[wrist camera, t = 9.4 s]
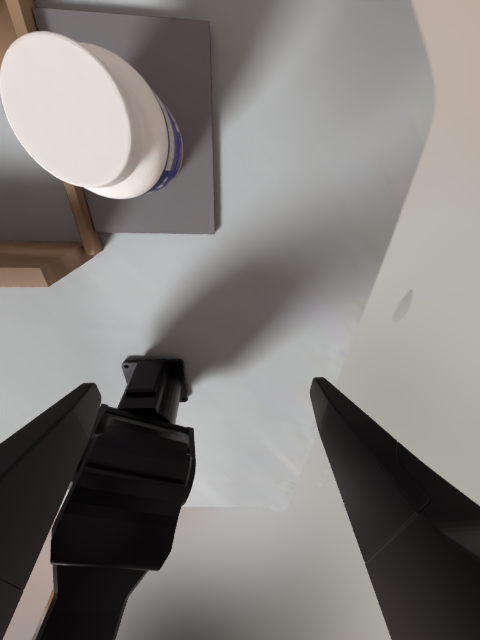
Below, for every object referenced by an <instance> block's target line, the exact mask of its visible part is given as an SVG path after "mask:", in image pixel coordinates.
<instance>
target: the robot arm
mask: <svg viewBox="0 0 480 640" xmlns="http://www.w3.org/2000/svg"><path fill="white" fill-rule="evenodd" d="M179 364H180V365H179ZM127 365H128V366H127ZM122 369H123V372H124V376H125V379H126V382H127V386H126V389H125V392H124V394H123V396H122V398H121V401H120V403H119V405H118V407H117V409H116V408H113V407H109V406H108V405H106V404H101V406H100V403H101V395H100V392H99V390H98V388H97V385H96V384H95V383H83V384H81V385H80V386H79V387H77V388H76V389H74V390H73V391H72V392H70V393H69V394H68V395H66V396H65V397H64V398H62V399H61V400H59V401H58V402H57V403H55V404H54V405H53V406H51V407H50V408H48V409H47V410H46V411H44V412H43V413H42V414H40V415H39V416H38V417H36V418H35V419H33V420H32V421H31V422H29V423H28V424H27V425H25V426H24V427H22V428H21V429H20V430H18V431H17V432H16V433H14V434H13V435H12V436H10V437H9V438H7V439H6V440H5V441H3V442H2V443H1V444H0V640H3V637H4V635H5V632H6V630H7V628H8V626H9V623H10V621H11V619H12V617H13V614H14V612H15V610H16V607H17V605H18V602H19V600H20V598H21V596H22V594H23V590H24V588H25V586H26V583H27V581H28V579H29V577H30V575H31V572H32V570H33V568H34V565H35V563H36V561H37V558H38V556H39V554H40V551H41V549H42V547H43V544H44V542H45V540H46V538H47V535H48V533H49V531H50V528H51V526H52V524H53V522H54V519H55V517H56V515H57V512H58V510H59V508H60V505H61V503H62V501H63V498H64V496H65V494H66V492H67V489H70V490H69V492H68V495H67V497H66V499H65V501H64V503H63V505H62V507H61V510H60V512H59V514H58V516H57V518H56V520H55V522H54V525H53V527H52V539H51V559H50V561H51V564H53V581H54V589H53V591H52V593H51V596H50V598H49V600H48V603H47V605H46V607H45V610H44V612H43V614H42V617H41V619H40V622H39V624H38V627H37V629H36V631H35V634H34V636H33V638H32V640H115V639H116V636H117V632H118V629H119V626H120V622H121V619H122V615H123V612H124V609H125V606H126V603H127V600H128V597H129V596H130V594H131V593H132V591H133V590H134V589H135V587H136V586H137V585H138V584H139V582H140V581H141V580H142V578H143V577H144V575H145V574H146V573H147V572H148V571H149V570H151V571H158V570H160V568H161V567H162V565H163V564H164V562H165V560H166V559H167V557H168V555H169V554H170V552H171V549H172V543H173V539H174V533H175V529H176V525H177V520H178V516H179V513H180V509H181V506H183V505H184V504H185V502H186V500H187V498H188V496H189V494H190V491H191V488H192V485H193V480H194V475H195V468H196V459H195V444H194V429H193V428H191V427H183V426H180V425H176V424H175V422H176V417H177V411H178V406H179V402H186V401H187V400H188V391H187V383H186V375H185V367H184V362H183V361H182V360H179V359H176V360H126V361H124V362H123V363H122ZM310 397H311V402H312V406H313V410H314V414H315V419H316V423H317V427H318V431H319V433H320V437H321V440H322V442H323V445H324V448H325V451H326V454H327V457H328V459H329V462H330V465H331V468H332V471H333V474H334V477H335V479H336V482H337V485H338V488H339V490H340V493H341V496H342V499H343V502H344V505H345V508H346V511H347V513H348V516H349V519H350V522H351V525H352V528H353V531H354V533H355V536H356V539H357V542H358V545H359V547H360V551H361V553H362V556H363V559H364V561H365V562H366V563H365V565H366V568H367V571H368V574H369V576H370V579H371V582H372V585H373V588H374V591H375V593H376V597H377V599H378V602H379V605H380V607H381V611H382V613H383V616H384V619H385V622H386V625H387V628H388V631H389V634H390V636H391V639H392V640H480V506H479V505H478V504H476V503H475V502H473V501H472V500H471V499H470V498H468V497H467V496H466V495H464V494H463V493H462V492H460V491H459V490H458V489H456V488H455V487H454V486H453V485H451V484H450V483H449V482H447V481H446V480H445V479H443V478H442V477H441V476H439V475H438V474H437V473H436V472H434V471H433V470H432V469H430V468H429V467H428V466H427V465H425V464H424V463H423V462H422V461H420V460H419V459H418V458H417V457H416V456H414V455H413V454H412V453H411V452H410V451H408V450H407V449H406V448H405V447H404V446H403V445H402V444H400V443H399V442H397V440H395V439H394V438H393V437H392V436H391V435H390V434H389V433H387V432H386V431H385V430H384V429H383V428H382V427H381V426H379V425H378V424H377V423H376V422H375V421H374V420H373V419H371V418H370V417H369V416H368V415H367V414H366V413H364V412H363V411H362V410H361V409H360V408H359V407H357V406H356V405H355V404H354V403H353V402H352V401H351V400H349V399H348V398H347V397H346V396H345V395H344V394H343V393H341V392H340V391H339V390H338V389H337V388H336V387H334V386H333V385H332V384H331V383H330V382H329V381H327V380H326V379H325V378H323V377H315V378H314V379H313V381H312V385H311V388H310ZM99 407H100V408H99Z"/></svg>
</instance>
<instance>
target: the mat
mask: <svg viewBox="0 0 480 640" xmlns="http://www.w3.org/2000/svg"><path fill="white" fill-rule="evenodd" d="M32 10H33V13H34V17H35V20H36V24H37V27H38V31H49V32H54V33H58V34H61V35H64V36H66V37H68V38H71V39H73V40H75V41H77V42H83V43H89V44H94V45H97V46H99V47H102V48H105V49H107V50H109V51H110V52H112V53H114V54H116V55H118V56H119V57H121V58H122V59H123V60H125V61H126V62H127V63H128V64H129V65H131V66H132V67H133V68H134V69H135V70H136V71H137V72H138V73H139V74H140V75H141V76H142V78H143V79H144V80H145V81H146V82H147V83H148V85H149V86H150V87H151V88H152V90H153V91H154V92H155V93H156V95H157V96H158V97H159V98H160V100H161V101H162V102H163V103H164V104H165V106H166V107H167V108H168V109H169V111H170V112H171V114H172V115H173V117H174V119H175V121H176V123H177V125H178V127H179V130H180V133H181V137H182V143H183V159H182V164H181V167H180V170H179V172H178V174H177V176H176V177H175V179H174V180H173V181H172V182H171V183H170V184H169V185H167V186H166V187H164V188H162V189H160V190H157V191H153V192H150V193H147V194H144V195H141V196H137V197H134V198H128V199H114V198H108V197H105V196H101V195H98V194H96V193H93V192H92V191H90V190H88V189H86V188H84V187H83V189H84V193H85V196H86V200H87V203H88V207H89V211H90V214H91V218H92V221H93V225H94V228H95V232H115V233H172V234H215V218H214V178H213V139H212V100H211V60H210V25H209V21H200V20H188V19H175V18H163V17H150V16H138V15H125V14H112V13H100V12H87V11H75V10H62V9H50V8H37V7H32Z"/></svg>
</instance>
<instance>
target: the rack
mask: <svg viewBox="0 0 480 640" xmlns="http://www.w3.org/2000/svg"><path fill="white" fill-rule="evenodd" d="M32 7H36V6H35V3H34V0H0V70H1V64H2V61H3V58H4V55H5V53H6V51H7V50H8V48H9V47H10V45H11V44H12V43H13V42H14V41H15V40H17V39H18V38H20V37H21V36H23V35H25V34H27V33H31V32H36V31H38V27H37V24H36V20H35V17H34V13H33V10H32ZM63 183H64V186H65V189H66V193H67V196H68V199H69V202H70V205H71V208H72V211H73V215H74V218H75V221H76V224H77V227H78V230H79V233H80V236H81V240H82V242H50V241H0V287H49V286H51V285H52V284H54V283H55V282H57V281H58V280H60V279H61V278H63V277H64V276H66V275H67V274H69V273H70V272H72V271H73V270H75V269H76V268H78V267H79V266H81V265H82V264H84V263H85V262H87V261H88V260H90V259H92V258H93V257H94V256H93V255H96V254H97V253H99V252H101V251H102V250H103V247H102V244H101V240H100V237H99V233H98V232H95V228H94V225H93V221H92V218H91V214H90V211H89V207H88V203H87V200H86V196H85V193H84V189H83V187H80V186H76V185H73V184H69V183H67V182H65V181H63Z"/></svg>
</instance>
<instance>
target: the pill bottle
mask: <svg viewBox="0 0 480 640" xmlns="http://www.w3.org/2000/svg"><path fill="white" fill-rule="evenodd" d="M0 93H1V98H2V103H3V106H4V110H5V113H6V116H7V119H8V121H9V123H10V126H11V127H12V129H13V131H14V133H15V135H16V136H17V138H18V140H19V141H20V143H21V144H22V146H23V147H24V148H25V150H26V151H27V152H28V153H29V154H30V155H31V156H32V158H33V159H34V160H35V161H36V162H37V163H38V164H39V165H41V166H42V167H43V168H44V169H45V170H47V171H48V172H49V173H51V174H52V175H54V176H55V177H57V178H59V179H61V180H63V181H65V182H67V183H69V184H73V185H76V186H80V187H84V188H86V189H88V190H90V191H92V192H93V193H96V194H98V195H101V196H105V197H108V198H114V199H128V198H134V197H137V196H141V195H144V194H147V193H150V192H153V191H157V190H160V189H162V188H164V187H166V186H167V185H169V184H170V183H171V182H172V181H173V180H174V179H175V177H176V176H177V174H178V172H179V170H180V167H181V164H182V159H183V143H182V137H181V133H180V130H179V127H178V125H177V123H176V121H175V119H174V117H173V115H172V114H171V112H170V111H169V109H168V108H167V107H166V106H165V104H164V103H163V102H162V101H161V100H160V98H159V97H158V96H157V95H156V93H155V92H154V91H153V90H152V88H151V87H150V86H149V85H148V83H147V82H146V81H145V80H144V79H143V78H142V76H141V75H140V74H139V73H138V72H137V71H136V70H135V69H134V68H133V67H132V66H131V65H129V64H128V63H127V62H126V61H125V60H123V59H122V58H121V57H119V56H118V55H116V54H114V53H112V52H110V51H109V50H107V49H105V48H102V47H99V46H97V45H94V44H89V43H83V42H77V41H75V40H73V39H71V38H68V37H66V36H64V35H61V34H58V33H54V32H49V31H36V32H31V33H27V34H25V35H23V36H21V37H20V38H18V39H17V40H15V41H14V42H13V43H12V44H11V45H10V47H9V48H8V50H7V51H6V53H5V55H4V58H3V61H2V64H1V70H0Z"/></svg>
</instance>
